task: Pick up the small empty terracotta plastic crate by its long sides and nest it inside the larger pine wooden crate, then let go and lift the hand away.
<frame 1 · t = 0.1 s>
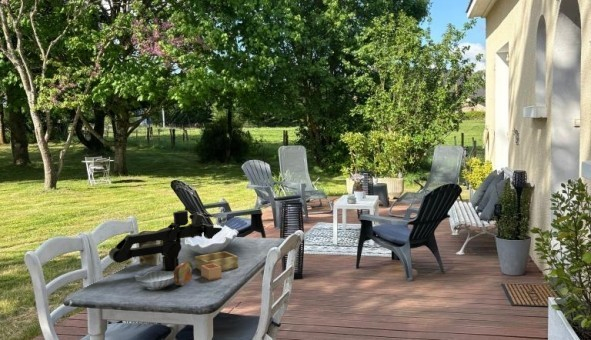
hand: (217, 227, 274), 17 cm above the table, tool horizontal, fingers open, 9 cm apart
coffee box: (150, 264, 272), on the table
terracotta crate: (211, 277, 246), on the table
pine crate: (216, 267, 262), on the table
tin: (183, 283, 239), on the table
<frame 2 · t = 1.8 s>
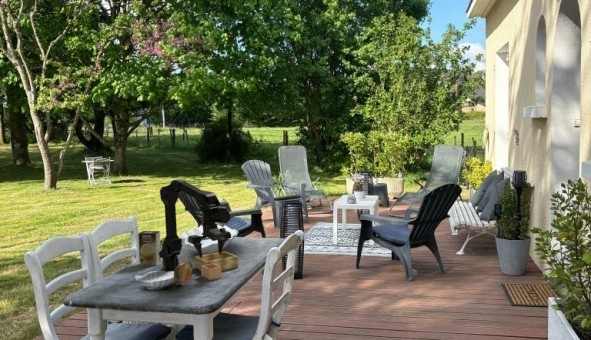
hand: (210, 256, 245), 10 cm above the table, tool pointing down, fingers open, 9 cm apart
nothing on the table moved.
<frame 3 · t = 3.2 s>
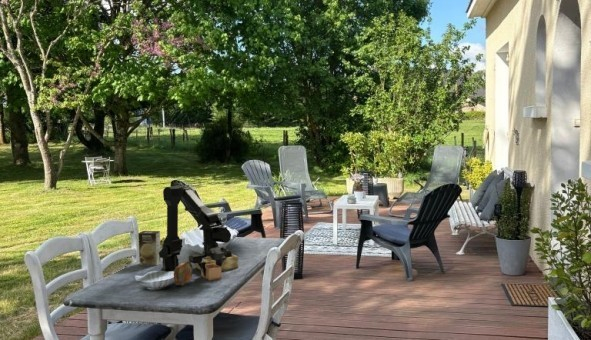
hand: (211, 275, 246), 1 cm above the table, tool pointing down, fingers closed on terracotta crate, 6 cm apart
terracotta crate: (211, 277, 246), on the table, touching gripper
everything else where it was.
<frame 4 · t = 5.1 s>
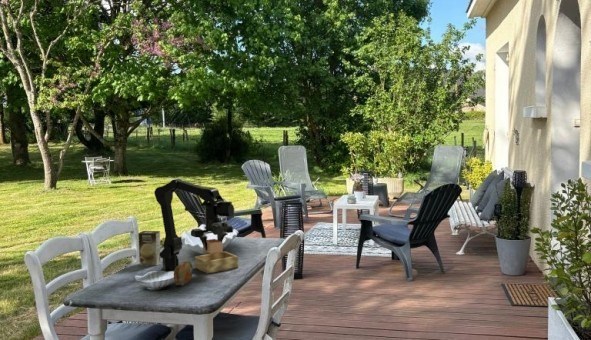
hand: (212, 249, 252), 11 cm above the table, tool pointing down, fingers closed on terracotta crate, 6 cm apart
terracotta crate: (212, 251, 252), point 10 cm above the table, touching gripper
everything else where it was.
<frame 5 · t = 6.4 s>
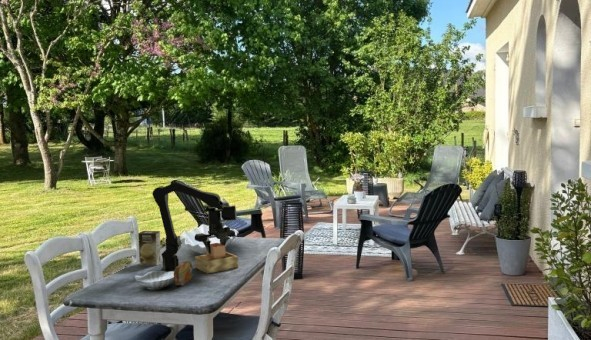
hand: (215, 253, 261), 7 cm above the table, tool pointing down, fingers closed on terracotta crate, 6 cm apart
terracotta crate: (216, 255, 261), point 6 cm above the table, touching gripper
everything else where it was.
when the fingers open (3 cm above the table, at t = 7.5 s): terracotta crate drops 2 cm, resting on pine crate.
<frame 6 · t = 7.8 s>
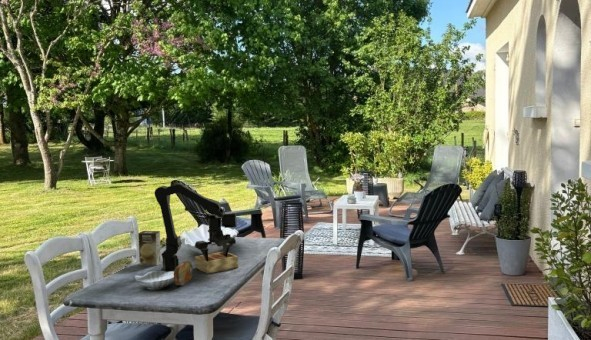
hand: (216, 260, 261), 3 cm above the table, tool pointing down, fingers open, 9 cm apart
terracotta crate: (216, 266, 261), point 1 cm above the table, touching pine crate
everything else where it was.
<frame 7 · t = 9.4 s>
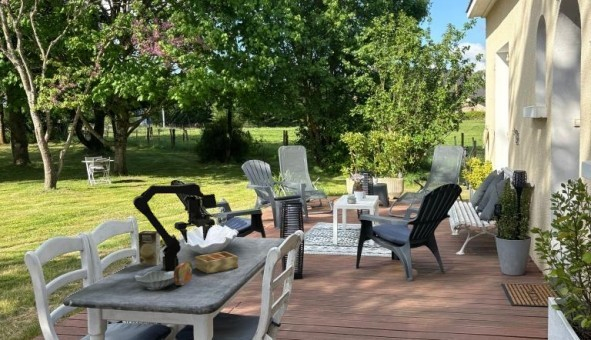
hand: (195, 241, 265), 12 cm above the table, tool pointing down, fingers open, 9 cm apart
nothing on the table moved.
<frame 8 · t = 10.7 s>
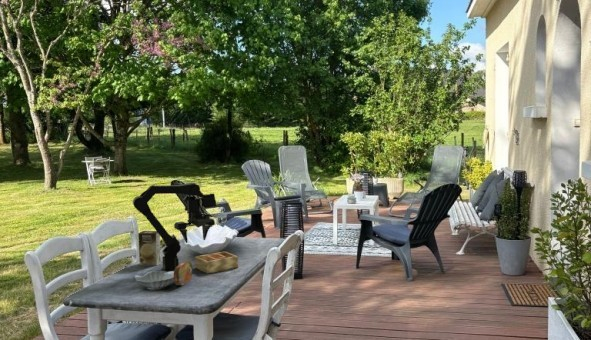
hand: (195, 241, 265), 12 cm above the table, tool pointing down, fingers open, 9 cm apart
nothing on the table moved.
at the end: terracotta crate inside the target area on the pine crate (0.0 cm from its centre), point 0.6 cm above the pine crate's base; terracotta crate tilted 0°; the gripper is holding nothing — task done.
